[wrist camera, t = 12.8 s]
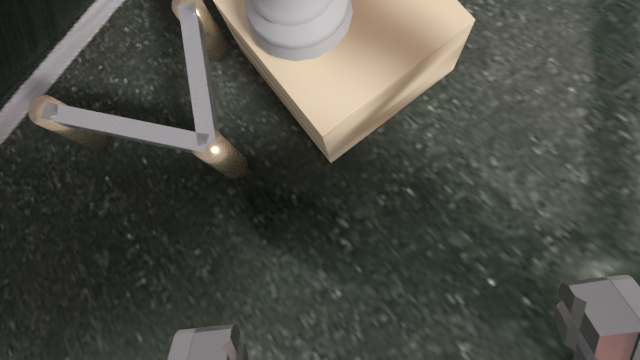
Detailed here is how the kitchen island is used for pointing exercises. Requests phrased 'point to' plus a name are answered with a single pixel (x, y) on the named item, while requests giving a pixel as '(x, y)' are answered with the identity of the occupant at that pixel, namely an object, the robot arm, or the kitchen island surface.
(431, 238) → the kitchen island surface
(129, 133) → the railing
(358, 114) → the pedestal
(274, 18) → the rook chess piece
